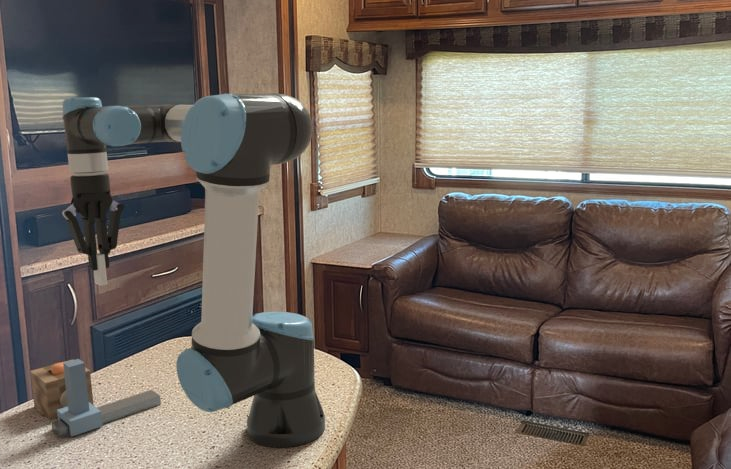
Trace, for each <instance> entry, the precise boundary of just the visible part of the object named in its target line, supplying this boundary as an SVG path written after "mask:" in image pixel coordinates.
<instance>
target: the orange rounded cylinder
mask: <svg viewBox="0 0 731 469" xmlns="http://www.w3.org/2000/svg"><path fill="white" fill-rule="evenodd" d="M63 363H65V361H62V362H61V361H60V362H56V363H53V364H51V365H52V366H51V370H52V375H53V376H56V375H60V374H63V373H64V367H63Z"/></svg>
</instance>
